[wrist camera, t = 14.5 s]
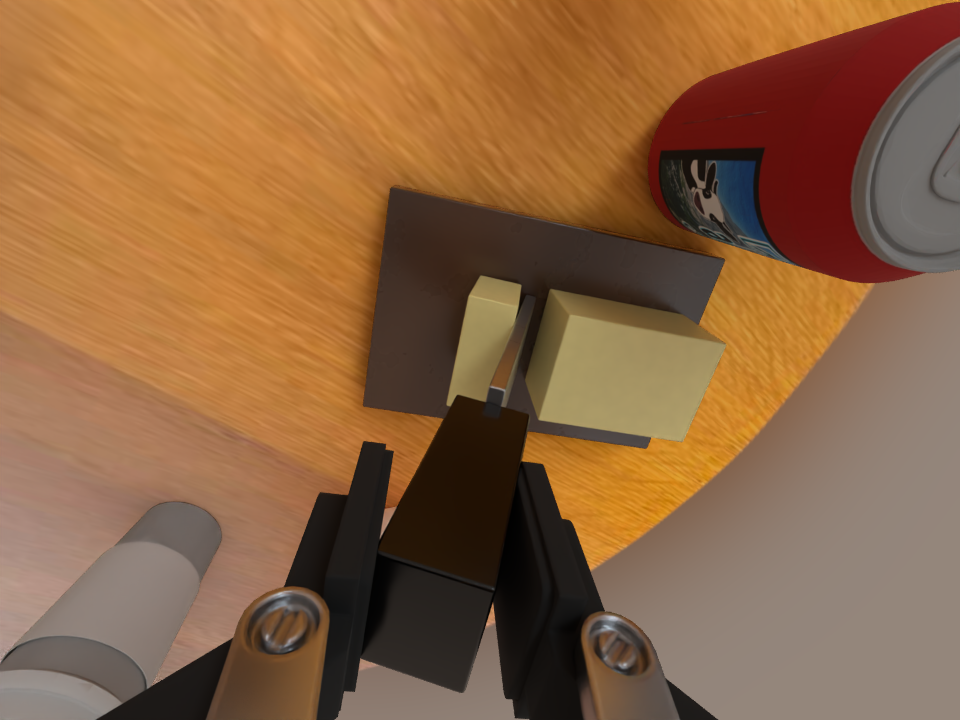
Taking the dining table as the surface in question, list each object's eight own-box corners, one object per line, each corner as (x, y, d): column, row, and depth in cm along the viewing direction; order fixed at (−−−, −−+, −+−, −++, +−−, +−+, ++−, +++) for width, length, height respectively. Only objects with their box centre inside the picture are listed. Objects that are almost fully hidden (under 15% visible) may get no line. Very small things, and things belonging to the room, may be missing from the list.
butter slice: (521, 284, 22) (518, 306, 18) (498, 379, 23) (491, 416, 20) (480, 274, 22) (468, 294, 18) (460, 369, 24) (445, 405, 20)
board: (710, 253, 23) (726, 259, 22) (637, 435, 28) (647, 449, 26) (394, 184, 21) (390, 186, 20) (367, 393, 25) (362, 407, 24)
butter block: (683, 314, 23) (727, 344, 19) (648, 401, 25) (683, 443, 21) (549, 288, 22) (569, 314, 18) (524, 380, 24) (537, 420, 20)
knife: (553, 301, 22) (503, 570, 7) (533, 374, 24) (459, 711, 9) (509, 289, 22) (374, 529, 8) (491, 363, 24) (355, 674, 9)
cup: (169, 466, 26) (-29, 684, 16) (263, 529, 29) (149, 759, 18) (98, 532, 28) (-126, 773, 17) (193, 588, 30) (49, 831, 19)
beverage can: (617, 209, 22) (780, 261, 11) (679, 50, 20) (965, -83, 9) (739, 247, 23) (994, 327, 12) (811, 101, 21) (1213, 40, 10)
